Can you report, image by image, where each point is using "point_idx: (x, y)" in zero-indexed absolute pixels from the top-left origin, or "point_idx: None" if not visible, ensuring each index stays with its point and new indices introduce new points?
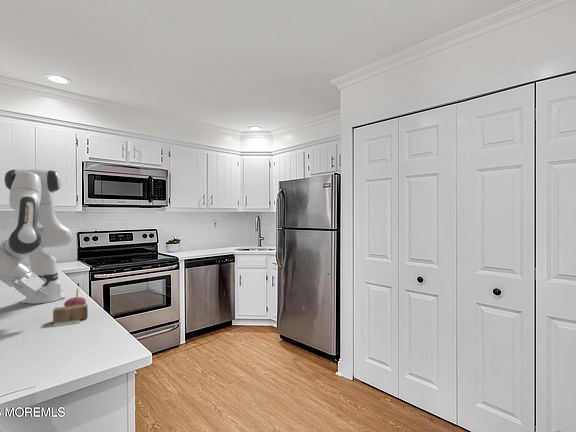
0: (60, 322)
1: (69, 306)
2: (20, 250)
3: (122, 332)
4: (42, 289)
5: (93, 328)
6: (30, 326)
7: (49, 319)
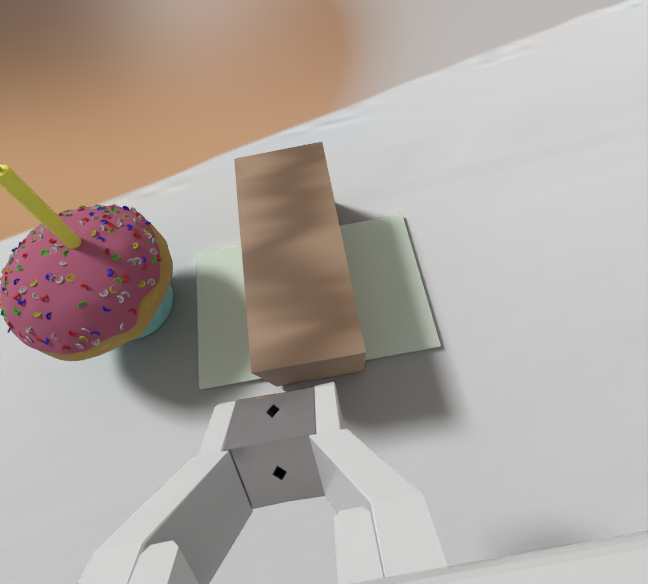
0: (369, 323)
1: (250, 263)
2: None
3: (610, 11)
4: (152, 548)
5: (526, 125)
6: None
7: None
